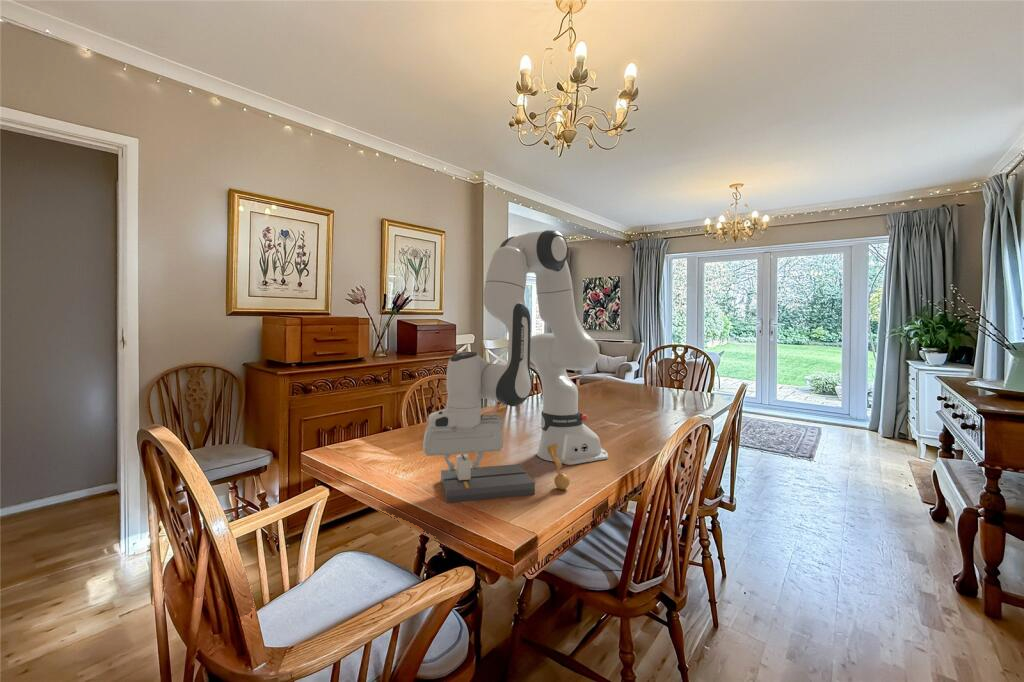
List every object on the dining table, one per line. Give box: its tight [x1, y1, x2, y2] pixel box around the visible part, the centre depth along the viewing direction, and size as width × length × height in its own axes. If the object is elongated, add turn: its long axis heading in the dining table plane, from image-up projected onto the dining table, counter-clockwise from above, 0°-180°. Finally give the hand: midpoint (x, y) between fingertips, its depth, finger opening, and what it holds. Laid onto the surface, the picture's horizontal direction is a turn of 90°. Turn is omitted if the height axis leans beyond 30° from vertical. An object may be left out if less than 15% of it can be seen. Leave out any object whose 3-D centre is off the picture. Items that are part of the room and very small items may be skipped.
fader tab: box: [455, 453, 472, 480], centre depth 114 cm, size 3×4×7 cm, turn 15°
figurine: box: [547, 443, 571, 490], centre depth 115 cm, size 8×6×12 cm
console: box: [440, 463, 536, 504], centre depth 115 cm, size 22×14×3 cm, turn 105°
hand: (463, 469), depth 114 cm, fingers open, 5 cm apart
